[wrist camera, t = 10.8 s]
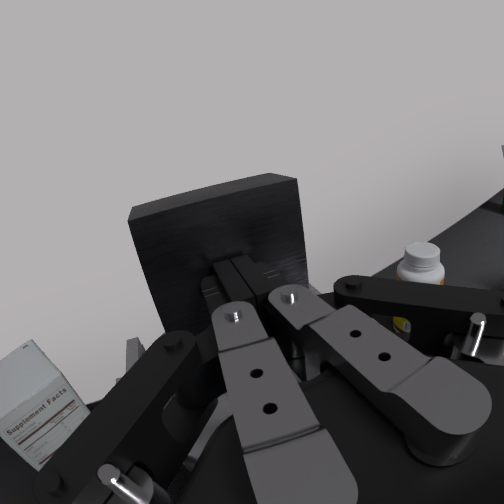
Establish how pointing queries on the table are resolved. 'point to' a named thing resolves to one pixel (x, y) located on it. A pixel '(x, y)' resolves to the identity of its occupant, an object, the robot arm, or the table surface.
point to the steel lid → (216, 250)
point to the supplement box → (36, 405)
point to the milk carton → (503, 195)
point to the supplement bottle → (418, 272)
